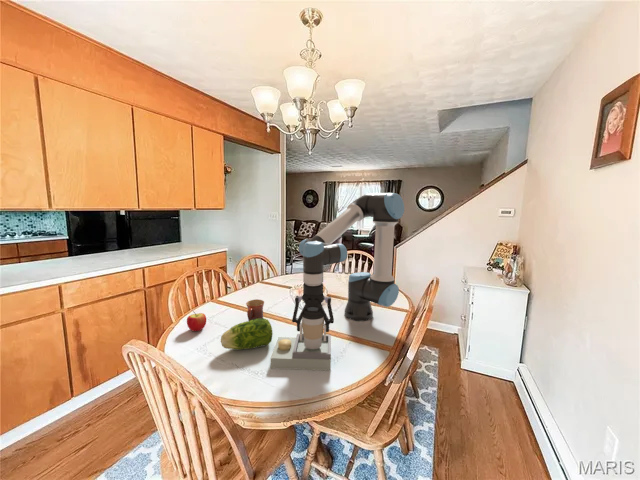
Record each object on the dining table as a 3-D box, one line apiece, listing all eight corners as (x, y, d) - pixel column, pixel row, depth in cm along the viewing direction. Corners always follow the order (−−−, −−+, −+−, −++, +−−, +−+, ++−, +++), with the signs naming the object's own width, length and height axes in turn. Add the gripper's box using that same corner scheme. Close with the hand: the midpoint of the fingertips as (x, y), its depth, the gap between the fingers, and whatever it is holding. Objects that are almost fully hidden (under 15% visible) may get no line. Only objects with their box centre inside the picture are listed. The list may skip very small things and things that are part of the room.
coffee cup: (327, 340, 106) (327, 305, 104) (320, 353, 98) (320, 314, 95) (306, 336, 109) (306, 302, 107) (297, 348, 100) (297, 311, 98)
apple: (183, 332, 122) (181, 312, 121) (197, 324, 130) (196, 305, 129) (197, 335, 120) (195, 314, 118) (210, 327, 128) (209, 307, 126)
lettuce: (219, 346, 111) (218, 321, 109) (267, 335, 120) (267, 312, 119) (223, 361, 101) (221, 334, 99) (275, 348, 110) (275, 323, 108)
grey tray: (330, 347, 111) (330, 334, 110) (330, 370, 96) (330, 355, 95) (278, 345, 112) (278, 332, 111) (270, 368, 97) (270, 353, 96)
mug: (251, 317, 139) (251, 298, 137) (267, 319, 137) (267, 300, 135) (240, 328, 127) (239, 307, 125) (257, 330, 125) (256, 309, 124)
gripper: (341, 280, 103) (340, 334, 106) (286, 279, 104) (287, 333, 107) (342, 286, 95) (340, 344, 99) (283, 285, 96) (284, 343, 100)
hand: (313, 338), depth 103 cm, fingers closed on coffee cup, 8 cm apart
